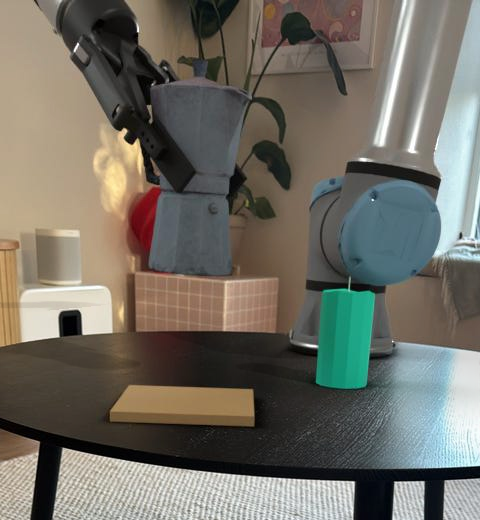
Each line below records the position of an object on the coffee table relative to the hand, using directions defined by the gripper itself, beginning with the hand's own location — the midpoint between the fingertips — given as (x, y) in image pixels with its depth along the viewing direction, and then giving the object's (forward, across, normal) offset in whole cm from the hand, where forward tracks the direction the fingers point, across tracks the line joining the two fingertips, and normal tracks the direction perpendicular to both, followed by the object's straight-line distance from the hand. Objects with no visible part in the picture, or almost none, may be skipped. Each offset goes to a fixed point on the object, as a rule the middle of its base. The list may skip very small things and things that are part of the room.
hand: (213, 185), depth 76 cm
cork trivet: (+18, +10, -11) cm, 24 cm away
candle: (+22, -12, -7) cm, 26 cm away
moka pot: (+4, 0, -9) cm, 9 cm away
